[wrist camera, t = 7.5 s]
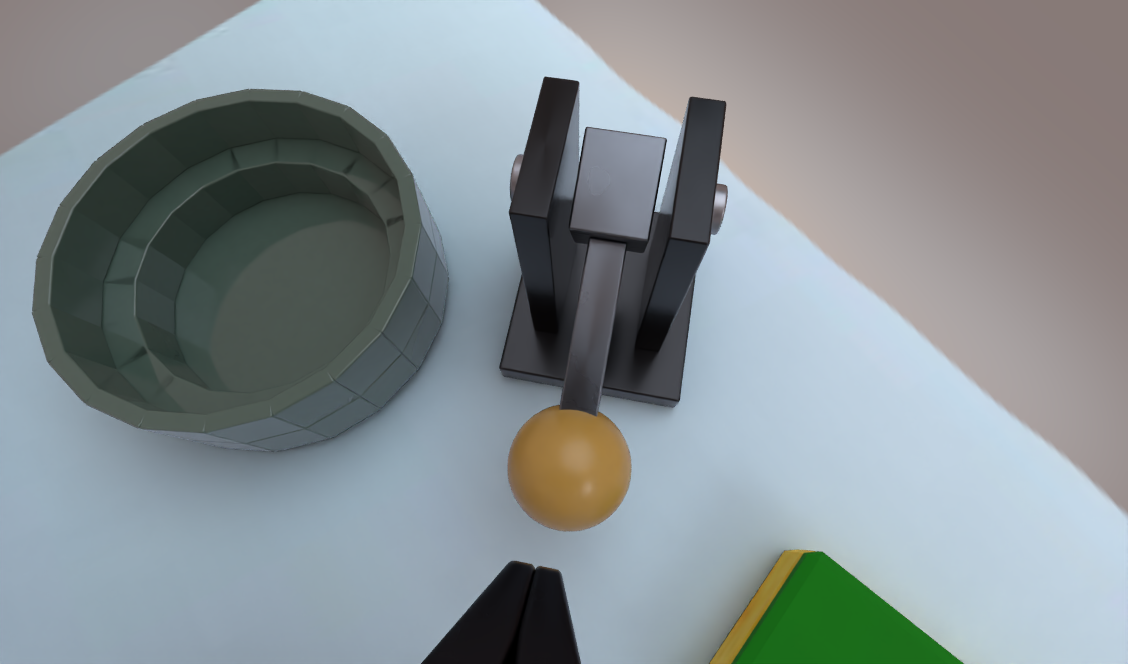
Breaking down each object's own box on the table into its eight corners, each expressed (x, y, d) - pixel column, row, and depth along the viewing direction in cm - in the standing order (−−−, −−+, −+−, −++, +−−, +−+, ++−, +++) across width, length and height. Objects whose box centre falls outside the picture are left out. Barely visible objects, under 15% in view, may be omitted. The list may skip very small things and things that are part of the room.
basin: (476, 406, 22) (449, 373, 17) (140, 490, 21) (16, 478, 17) (424, 142, 26) (391, 58, 22) (143, 203, 26) (46, 130, 21)
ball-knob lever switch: (674, 408, 22) (745, 320, 13) (502, 376, 22) (450, 270, 13) (697, 233, 25) (769, 53, 15) (542, 208, 25) (522, 22, 16)
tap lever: (618, 517, 18) (620, 565, 14) (510, 495, 18) (485, 537, 15) (680, 172, 18) (697, 133, 14) (568, 156, 18) (557, 113, 14)
